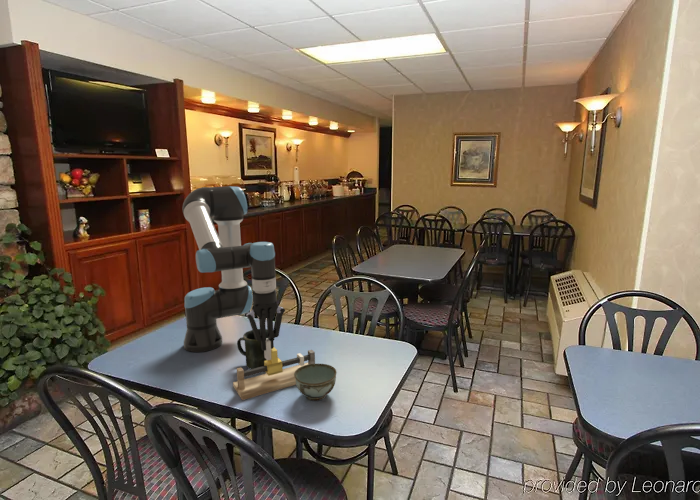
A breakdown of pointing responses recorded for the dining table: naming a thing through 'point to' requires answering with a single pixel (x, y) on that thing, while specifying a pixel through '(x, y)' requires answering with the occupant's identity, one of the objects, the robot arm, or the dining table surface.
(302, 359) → the band
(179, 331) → the dining table surface
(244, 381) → the wooden slider rail
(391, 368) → the dining table surface
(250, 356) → the mug
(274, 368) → the sleeve
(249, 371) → the rod
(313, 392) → the bowl
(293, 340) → the dining table surface
